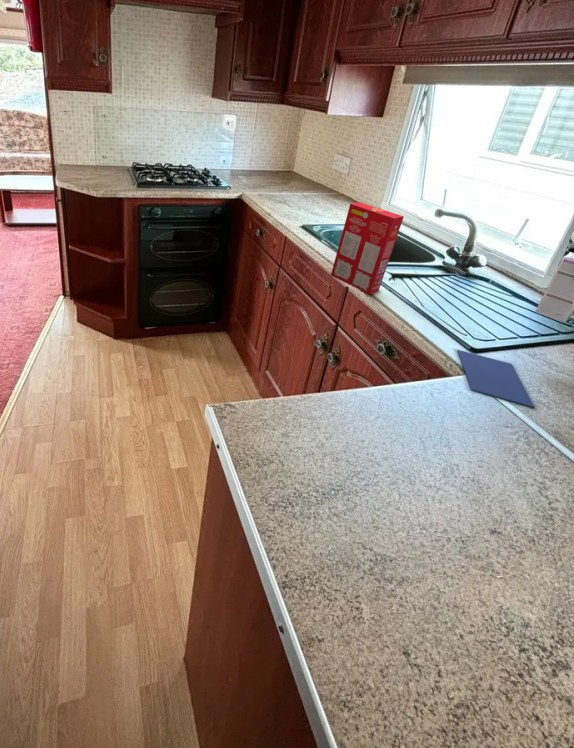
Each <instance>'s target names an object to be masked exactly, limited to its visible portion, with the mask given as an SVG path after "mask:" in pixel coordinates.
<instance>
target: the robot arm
mask: <svg viewBox="0 0 574 748" xmlns="http://www.w3.org/2000/svg"><path fill="white" fill-rule="evenodd" d="M568 242H569V243H568V245H567V246H566V248H565V252H564V254H563V255H562V258H563V257H564V256H565V255H567V254H569V253H570V252H572V253H574V229H573V230H572V232H571V236H570V239H569V241H568ZM562 258H560V261H559V263H558V265H557V267H558V266H559V264H560V262H561V260H562ZM573 280H574V279H573Z"/></svg>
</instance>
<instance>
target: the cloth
mask: <svg viewBox="0 0 574 748" xmlns="http://www.w3.org/2000/svg"><path fill="white" fill-rule="evenodd" d="M457 354H458V357H459V359H460V362H461V366H462V368H463V371H464V374H465V376H466V379H467V383H468V385H469V388H470V391H473V392H476V393H480V394H483V395H487V396H490V397H494V398H497V399H501V400H504V401H508V402H510V403H511V402H512V403H515V404H518V405H522V406H526V407H528V408H529V407H530V408H532V409H534V408H535V405H534V403H533V401H532V399H531V398H530V396H529V394H528V392H527V389H526V388H525V386H524V385H523V382H522V381H521V379H520V377H519V375H518V373H517V371H516V369H515V368H514V366H513V364H512V363H510V362H506V361H503V360H498V359H495V358H491V357H486V356H483V355H479V354H476V353H473V352H472V353H471V352H467V351H463V350H460V349H457Z"/></svg>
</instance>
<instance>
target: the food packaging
mask: <svg viewBox="0 0 574 748" xmlns="http://www.w3.org/2000/svg"><path fill="white" fill-rule="evenodd" d="M403 220H404V215H401V214H399V213H395V212H392V211H389V210H385V209H382V208H379V207H376V206H373V205H370V204H367V203H364V202H361V201H357V202H352V203H350V204H349V207H348V210H347V215H346V218H345V222H344V225H343V229H342V232H341V236H340V240H339V244H338V247H337V251H336V254H335V257H334V262H333V265H332V270H331V272H330V276H331V277H333V278H335V279H337V280H339V281H341V282H343V283H345V284H347V285H349V286H351V287H354V288H355V289H357V290H359V291H362V292H363V293H365V294H367V295H373V294H375V293H377V292H379V291H380V289H381V285H382V282H383V279H384V277H385V273H386V271H387V269H388V264H389V261H390V258H391V256H392V253H393V249H394V247H395V244H396V241H397V238H398V236H399V232H400V229H401V226H402V223H403Z"/></svg>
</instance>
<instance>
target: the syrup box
mask: <svg viewBox="0 0 574 748" xmlns="http://www.w3.org/2000/svg"><path fill="white" fill-rule="evenodd" d="M562 257H563V256H562ZM561 259H562V260H561ZM561 259H560V261H561V262H560V261H559V263H560V264H559V263H558V265H559V266H558V265H557V268H556V270H555V272H554V274H553V275H552V278H551V279H550V282H549V284H548V286H547V288H546V290H545V292H544V293H543V296H542V297H541V300H540V301H539V304H538V305H537V307H536V309H535V313H537V314H539V315H542V316H545V317H546V318H550V319H552V320H554V321H558V322H561V323H563V324H565V323H566V322H567V321H568V320H569V319H570V318H571V316H572V315H573V313H574V280H573V279H574V253H572V252H570V253H569V254H567V255H565V256H564V257H563V258H561Z"/></svg>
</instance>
